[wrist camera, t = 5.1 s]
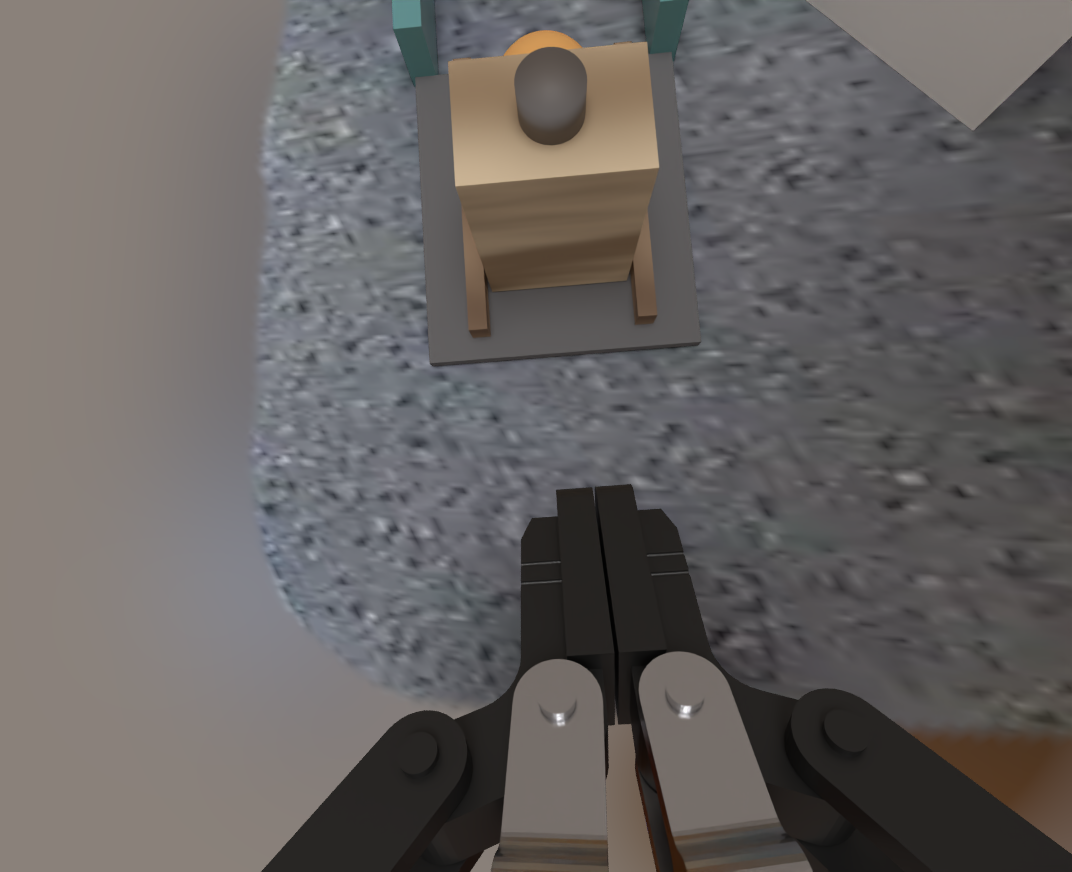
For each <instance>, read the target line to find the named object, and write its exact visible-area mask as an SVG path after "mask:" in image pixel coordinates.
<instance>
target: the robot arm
mask: <svg viewBox="0 0 1072 872" xmlns="http://www.w3.org/2000/svg"><path fill="white" fill-rule="evenodd" d="M556 495H557V510H558V516H556V517H542V518H532V519H531V521H530V523H529V525H528V527H527V529H526V531H525V533H524V535H523V537H522V539H521V663H520V667H519V671H518V674H517V676H516V679H515V680H514V682H513V684H512V685H511V687H510V688H509V689H508V690H507V691H506V693H504V694H503V695H502V696H501V697H500V698H499V699H497V700H496V701H495V702H493V703H491V704H489V705H487V706H485V707H483V708H481V709H478V710H476V711H474V712H471V713H469V714H466V715H464V716H462V717H459V718H457V719H454V720H453V719H452V718H451V717H449V716H448V715H446V714H444V713H441V712H437V711H419V712H415V713H412V714H410V715H407V716H406V717H404V718H402V719H400V720H399V721H398V722H396V723H395V724H394V725H393V726H392V727H390V728H389V729H388V731H387V732H386V733H385V734H384V735H383V736H382V737H381V738H380V740H379V741H378V742H377V743H376V744H375V745H374V746H373V747H372V748H371V749H370V751H369V752H368V753H367V754H366V755H365V756H364V757H363V758H362V760H361V761H360V762H359V763H358V764H357V765H356V766H355V767H354V769H353V770H352V771H351V772H350V773H349V774H348V775H347V777H346V778H345V779H344V780H343V781H342V782H341V783H340V784H339V785H338V786H337V788H336V789H335V790H334V791H333V792H332V793H331V794H330V795H329V797H328V798H327V799H326V800H325V801H324V802H323V803H322V804H321V805H320V807H319V808H318V809H317V810H316V811H315V812H314V813H313V814H312V815H311V817H310V818H309V819H308V820H307V821H306V822H305V823H304V824H303V826H302V827H301V828H300V829H299V830H298V831H297V832H296V833H295V835H294V836H293V837H292V838H291V839H290V840H289V841H288V842H287V843H286V845H285V846H284V847H283V848H282V849H281V850H280V851H279V852H278V853H277V855H276V856H275V857H274V858H273V859H272V860H271V861H270V862H269V864H268V865H267V866H266V867H265V868H264V869H263V870H262V872H470V871H471V869H472V868H473V867H474V865H475V863H476V862H477V861H478V859H479V858H480V856H481V855H482V853H483V852H484V850H485V849H488V848H490V847H492V846H494V845H496V844H498V843H499V847H498V850H497V851H496V853H495V856H494V859H493V863H492V868H491V872H608V844H607V815H606V814H607V812H606V778H607V774H608V768H609V764H608V725H615V701H616V709H617V717H618V724H631V725H632V732H633V739H634V746H635V753H636V758H635V771H636V777H637V781H638V786H639V791H640V796H641V800H642V805H643V810H644V815H645V819H646V824H647V829H648V834H649V838H650V843H651V848H652V853H653V857H654V862H655V867H656V872H1072V854H1071V853H1069V852H1068V851H1067V850H1065V849H1064V848H1062V847H1061V846H1060V845H1058V844H1057V843H1056V842H1054V841H1053V840H1052V839H1050V838H1049V837H1048V836H1046V835H1045V834H1044V833H1042V832H1041V831H1040V830H1038V829H1037V828H1035V827H1034V826H1033V825H1032V824H1030V823H1029V822H1028V821H1026V820H1025V819H1024V818H1022V817H1021V816H1020V815H1018V814H1017V813H1015V812H1014V811H1013V810H1011V809H1010V808H1008V807H1007V806H1006V805H1004V804H1003V803H1002V802H1001V801H999V800H998V799H997V798H995V797H994V796H993V795H991V794H989V792H987V791H986V790H985V789H983V788H982V787H981V786H979V785H978V784H976V783H975V782H974V781H972V780H971V779H970V778H968V777H967V776H966V775H964V774H963V773H962V772H960V771H959V770H958V769H956V768H955V767H954V766H952V765H951V764H950V763H948V762H947V761H946V760H944V759H943V758H942V757H940V756H939V755H937V754H936V753H935V752H933V751H932V750H931V749H929V748H928V747H927V746H925V745H924V744H923V743H921V742H920V741H919V740H917V739H916V738H915V737H913V736H912V735H911V734H909V733H908V732H907V731H905V730H904V729H903V728H901V727H900V726H899V725H897V724H896V723H895V722H893V721H892V720H891V719H889V718H888V717H887V716H885V715H884V714H882V713H881V712H880V711H878V710H877V709H876V708H874V707H873V706H872V705H870V704H869V703H867V702H866V701H864V700H863V699H861V698H860V697H857V696H855V695H853V694H851V693H848V692H845V691H842V690H837V689H817V690H814V691H811V692H809V693H807V694H805V695H804V696H803V697H802V698H800V699H799V700H796V699H792V698H788V697H784V696H780V695H776V694H772V693H769V692H765V691H761V690H758V689H755V688H751V687H749V686H747V685H745V684H743V683H741V682H739V681H738V680H736V679H735V678H733V677H732V676H731V675H729V674H728V673H727V672H726V671H725V670H724V669H723V668H722V667H721V666H720V664H719V663H718V662H717V660H716V659H715V657H714V655H713V654H712V652H711V649H710V646H709V643H708V640H707V636H706V632H705V629H704V625H703V621H702V618H701V614H700V610H699V607H698V603H697V599H696V596H695V592H694V588H693V585H692V581H691V577H690V575H689V572H688V566H687V563H686V559H685V556H684V554H683V548H682V544H681V541H680V537H679V533H678V530H677V527H676V526H675V525H674V524H673V523H672V521H671V520H670V519H669V518H668V517H667V516H666V514H665V513H664V512H663V511H662V510H661V509H650V510H637V505H636V501H635V496H634V491H633V487H632V485H631V484H627V485H614V486H600V487H595V503H594V496H593V489H592V487H589V488H576V489H562V490H556Z"/></svg>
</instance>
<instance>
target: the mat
mask: <svg viewBox="0 0 1072 872" xmlns="http://www.w3.org/2000/svg"><path fill="white" fill-rule="evenodd" d="M648 57H649V67H650V78H651V88H652V98H653V109H654V119H655V129H656V139H657V150H658V160H659V170H658V174H657V177H656V181H655V184H654V188H653V191H652V195H651V198H650V202H649V205H648V220H649V230H650V241H651V252H652V262H653V273H654V284H655V294H656V305H657V317H656V319H655V321H654V323H651V324H638V325H635V320H634V308H633V297H632V286H631V275H630V271H629V275H628V278H627V281H617V282H605V283H593V284H581V285H569V286H557V287H545V288H533V289H522V290H510V291H498V292H492V290H491V287H490V284H489V281H488V278H487V284H488V300H489V315H490V331H491V337H478V338H473V337H472V335H471V334H470V332H469V328H468V311H467V293H466V276H465V259H464V242H463V225H462V208H461V201H460V198H459V196H458V193H457V190H456V187H455V172H454V155H453V138H452V120H451V103H450V85H449V74H443V75H434V76H424V77H415V83H416V103H417V123H418V142H419V162H420V182H421V201H422V221H423V240H424V260H425V280H426V299H427V319H428V338H429V358H430V364H431V365H432V366H442V365H455V364H467V363H480V362H493V361H505V360H518V359H530V358H543V357H556V356H568V355H581V354H593V353H606V352H619V351H631V350H644V349H656V348H669V347H681V346H694V345H699V344H700V342H701V335H700V325H699V315H698V305H697V295H696V286H695V276H694V266H693V256H692V246H691V237H690V227H689V217H688V207H687V197H686V187H685V178H684V168H683V158H682V148H681V138H680V128H679V119H678V109H677V99H676V89H675V79H674V69H673V60H672V52H665V53H655V54H648Z"/></svg>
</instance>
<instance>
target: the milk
mask: <svg viewBox="0 0 1072 872" xmlns="http://www.w3.org/2000/svg"><path fill="white" fill-rule="evenodd" d="M806 1H807V2H809V3H810V4H811V5H812V6H814V7H815V8H816V9H818V10H819V11H820V12H821V13H823V14H824V15H825V16H827V17H828V18H829V19H830V20H832V21H833V22H834V23H835V24H837V25H838V26H839V27H841V28H842V29H843V30H844V31H846V32H847V33H848V34H850V35H851V36H852V37H853V38H855V39H856V40H857V41H858V42H860V43H861V44H862V45H864V46H865V47H866V48H867V49H869V50H870V51H871V52H873V53H874V54H875V55H876V56H878V57H879V58H880V59H881V60H883V61H884V62H885V63H887V64H888V65H889V66H890V67H892V68H893V69H894V70H896V71H897V72H898V73H899V74H901V75H902V76H903V77H904V78H906V79H907V80H908V81H910V82H911V83H912V84H913V85H915V86H916V87H917V88H918V89H920V90H921V91H922V92H924V93H925V94H926V95H927V96H929V97H930V98H931V99H933V100H934V101H935V102H936V103H938V104H939V105H940V106H941V107H943V108H944V109H945V110H947V111H948V112H949V113H950V114H952V115H953V116H954V117H956V118H957V119H958V120H959V121H961V122H962V123H963V124H964V125H966V126H967V127H968V128H970V129H971V130H972V131H974V130H975V129H976V128H977V127H978V126H979V125H980V124H981V123H982V122H983V121H984V120H985V119H986V118H987V117H988V116H989V115H990V114H991V113H992V112H993V111H994V110H995V109H996V108H997V107H999V106H1000V105H1001V104H1002V103H1003V102H1004V101H1005V100H1006V99H1007V98H1008V97H1009V96H1010V95H1011V94H1012V93H1013V92H1014V91H1015V90H1016V89H1017V88H1018V87H1019V86H1020V85H1021V84H1023V83H1024V82H1025V81H1026V80H1027V79H1028V78H1029V77H1030V76H1031V75H1032V74H1033V73H1034V72H1035V71H1036V70H1037V69H1038V68H1039V67H1040V66H1041V65H1042V64H1043V63H1044V62H1045V61H1047V60H1048V59H1049V58H1050V57H1051V56H1052V55H1053V54H1054V53H1055V52H1056V51H1057V50H1058V49H1059V48H1060V47H1061V46H1062V45H1063V44H1064V43H1065V42H1066V41H1067V40H1068V39H1069V38H1071V37H1072V0H806Z"/></svg>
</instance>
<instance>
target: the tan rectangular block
mask: <svg viewBox="0 0 1072 872" xmlns="http://www.w3.org/2000/svg"><path fill="white" fill-rule="evenodd" d="M448 68H449V85H450V103H451V120H452V138H453V155H454V172H455V187H456V190H457V193H458V196H459V198H460V201H461V204H462V207H463V210H464V213H465V216H466V218H467V221H468V224H469V227H470V230H471V233H472V236H473V238H474V241H475V244H476V247H477V250H478V253H479V256H480V258H481V261H482V264H483V267H484V270H485V273H486V276H487V278H488V281H489V284H490V287H491V290H492V292H498V291H510V290H522V289H533V288H545V287H557V286H569V285H581V284H593V283H605V282H617V281H627V278H628V275H629V271H630V268H631V264H632V261H633V257H634V254H635V250H636V247H637V243H638V240H639V236H640V233H641V229H642V226H643V223H644V219H645V216H646V212H647V209H648V205H649V202H650V198H651V195H652V191H653V188H654V184H655V181H656V177H657V174H658V170H659V160H658V150H657V139H656V129H655V119H654V109H653V98H652V88H651V78H650V67H649V57H648V47H647V42H637V43H627V44H617V45H607V46H597V47H588V48H578V49H568V50H566V49H563V48H560V47H544V48H540V49H537V50H535V51H533V52H531V53H528V54H518V55H508V56H498V57H488V58H478V59H468V60H458V61H448Z"/></svg>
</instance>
